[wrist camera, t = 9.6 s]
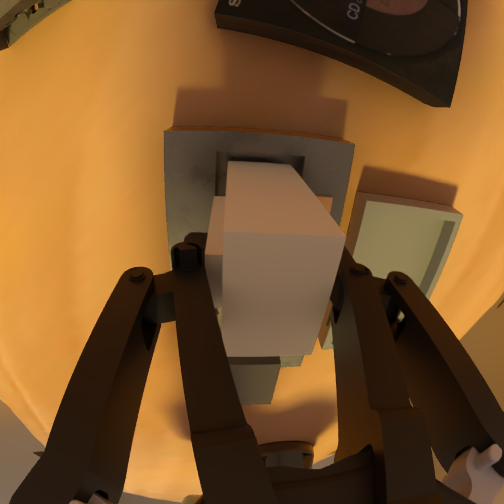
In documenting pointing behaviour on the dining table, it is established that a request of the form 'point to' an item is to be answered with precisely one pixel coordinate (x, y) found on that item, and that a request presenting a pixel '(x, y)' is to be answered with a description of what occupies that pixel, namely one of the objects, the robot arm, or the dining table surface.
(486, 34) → the dining table surface
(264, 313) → the plug
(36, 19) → the electrical switch
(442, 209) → the tray
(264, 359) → the seated black plug
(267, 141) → the grey two-pocket tray
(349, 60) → the portable cd player
